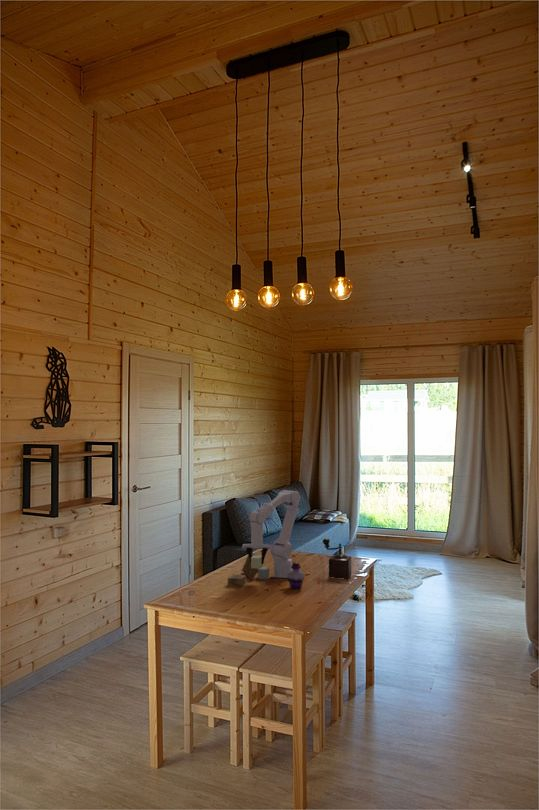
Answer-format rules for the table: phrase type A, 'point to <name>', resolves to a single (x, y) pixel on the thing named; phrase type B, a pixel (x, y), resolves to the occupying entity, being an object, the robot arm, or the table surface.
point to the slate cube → (263, 573)
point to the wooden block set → (249, 568)
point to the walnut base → (236, 580)
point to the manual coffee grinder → (338, 563)
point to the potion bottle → (295, 576)
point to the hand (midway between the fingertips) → (257, 563)
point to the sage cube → (256, 562)
